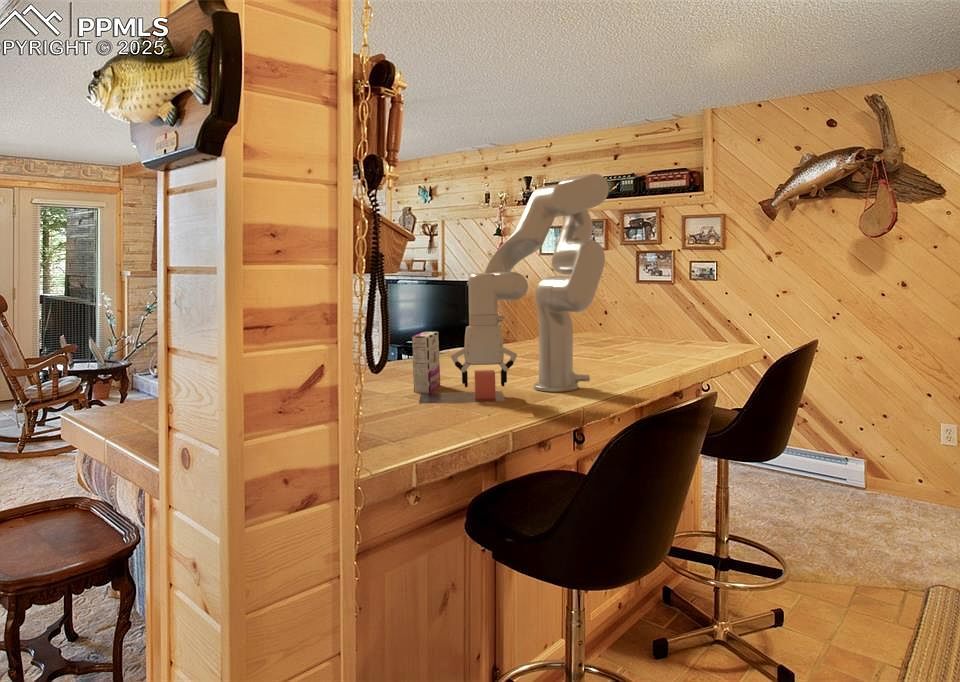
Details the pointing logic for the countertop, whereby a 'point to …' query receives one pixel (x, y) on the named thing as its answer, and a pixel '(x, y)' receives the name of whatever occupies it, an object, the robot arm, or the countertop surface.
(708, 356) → the countertop surface
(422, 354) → the candy bar box
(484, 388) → the red block
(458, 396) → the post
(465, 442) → the countertop surface
